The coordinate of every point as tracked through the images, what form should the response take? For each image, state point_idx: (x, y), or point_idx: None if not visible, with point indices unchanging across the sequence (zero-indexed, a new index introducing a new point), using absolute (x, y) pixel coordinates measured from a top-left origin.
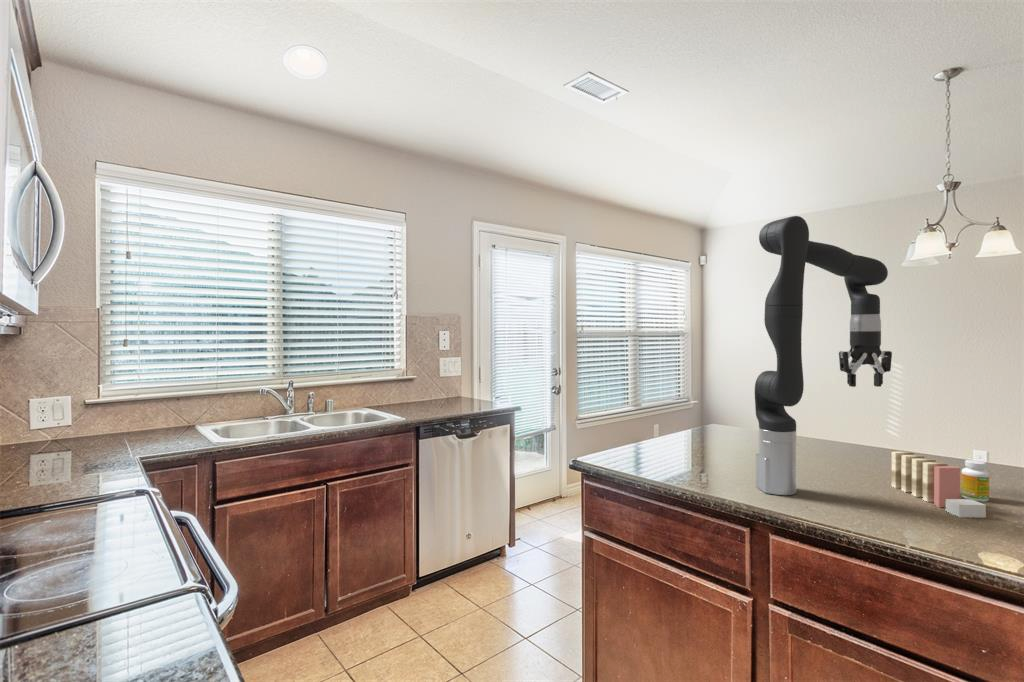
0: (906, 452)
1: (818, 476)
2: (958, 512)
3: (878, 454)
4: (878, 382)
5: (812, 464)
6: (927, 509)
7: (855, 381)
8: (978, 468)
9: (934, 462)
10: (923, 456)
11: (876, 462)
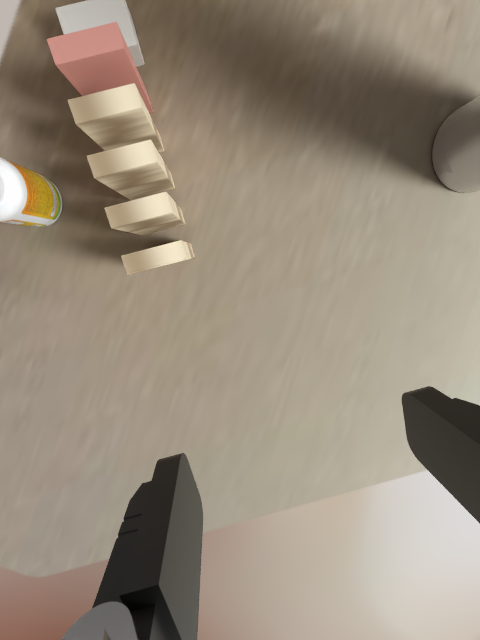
0: (143, 257)
1: (332, 305)
2: (129, 12)
3: None
4: (178, 484)
5: (310, 412)
6: (180, 72)
7: (444, 415)
8: None
9: (104, 112)
10: (108, 207)
11: None
